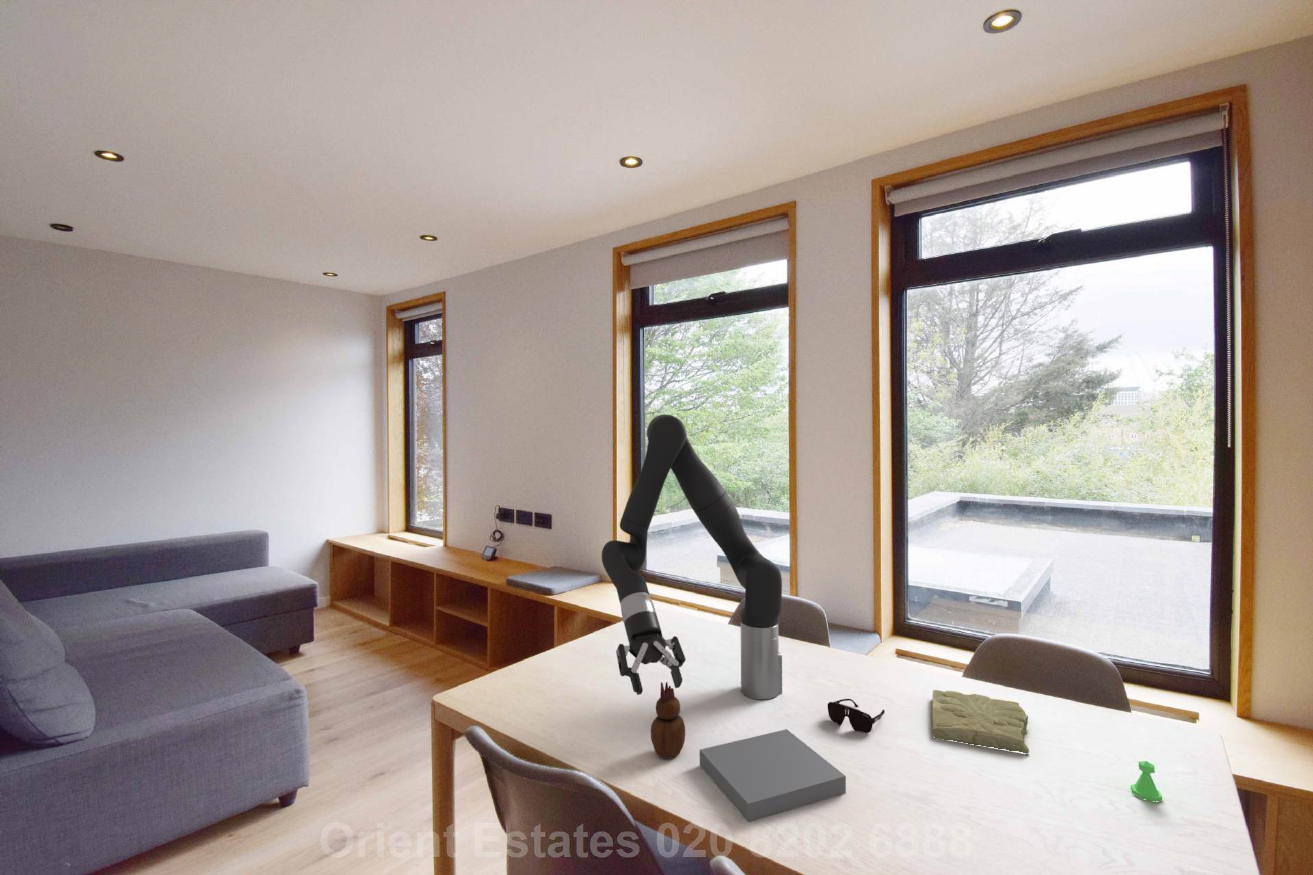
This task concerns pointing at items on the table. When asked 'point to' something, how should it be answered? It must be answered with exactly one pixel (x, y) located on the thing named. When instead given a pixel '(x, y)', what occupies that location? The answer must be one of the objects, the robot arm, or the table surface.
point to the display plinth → (771, 774)
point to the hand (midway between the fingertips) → (659, 689)
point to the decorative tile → (979, 720)
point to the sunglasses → (852, 716)
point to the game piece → (1146, 783)
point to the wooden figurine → (668, 725)
